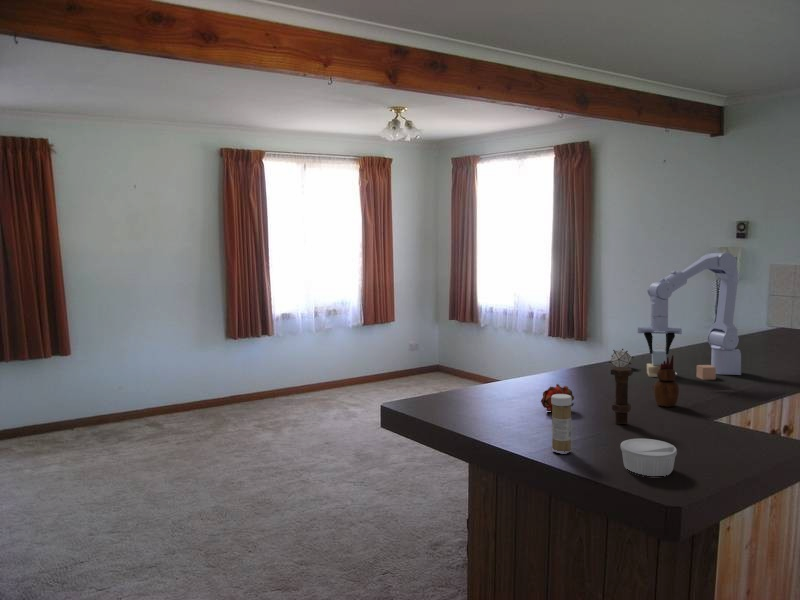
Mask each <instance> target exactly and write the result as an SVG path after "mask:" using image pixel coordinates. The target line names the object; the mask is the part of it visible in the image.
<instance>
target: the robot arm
mask: <svg viewBox="0 0 800 600" xmlns="http://www.w3.org/2000/svg"><path fill="white" fill-rule="evenodd" d="M737 263H738V259H737V258H736V256H735V255H734V254H732V253H731V252H712V251H711V252H708V253H706V254H705V255H701V257H700V258H698V259H697V260H696V261H694V262H693V263H692V264H690V265H688V266H687V267H686V268H684V269H683V270H671V271H670V274H669V275H667V276H665V277H664V278H663V277H662V278H660V279H659V281H658V282H657V281H655V282H652V283H651V284H650V286H649V287H648V289H647V290H646V291H647V294H648V296H649V298H650V326H647V327H637V328H636V329H637V330H636V333H637V334H643V335H644V337H645V340H646V342H647V343H646V344H647V346H648V349H649V354H651V355H652V353H653V350H654V349H653V338H654V336H653V334H665V349H664V350H665V351H666V355H669V352H670V349H671V345H672V343H673V341H674V340H675V337H676V335H675V334H677V335H682V334H683V333H682V332H683V331H682V327H669V299H670V297H671V296H672V295H673V293H674V292H675V291H677V290H679V289H681V288H682V287H684V286H685V285H687V283H688V279H691V278H693V277H694V276H696V275H698V274H700V273H702V272H703V271H706V270H708V271H711V272H712V273H714V274H715V275H716V276H718V278H719V279H720V284H719V293H718V301H717V310H716V316H715V322H714V323H712V324H711V326H710V328H709V332H708V333H707V337H706V339H707V343H708V344H709V346H710V348H711V352H710V353H711V358H710V359H711V362H710V365H711V366H714V367H716V375H725V376H728V375H729V376H730V375H731V376H732V375H733V376H735V375H737V376H741V375H742V353H741V350H740V349H737V347H738V344H739V341H740V338H739V335H738V329H739V328H738V327H736V325H735V324H734V317H735V307H736V300H737V291H738V282H739V270H738V267H737V265H738V264H737Z"/></svg>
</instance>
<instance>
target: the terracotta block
mask: <svg viewBox="0 0 800 600" xmlns="http://www.w3.org/2000/svg"><path fill="white" fill-rule="evenodd" d="M716 375H717V374H716V367H714V366H711V364H697V365H696V378H698V379H700V380H716V378H717V377H716Z"/></svg>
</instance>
